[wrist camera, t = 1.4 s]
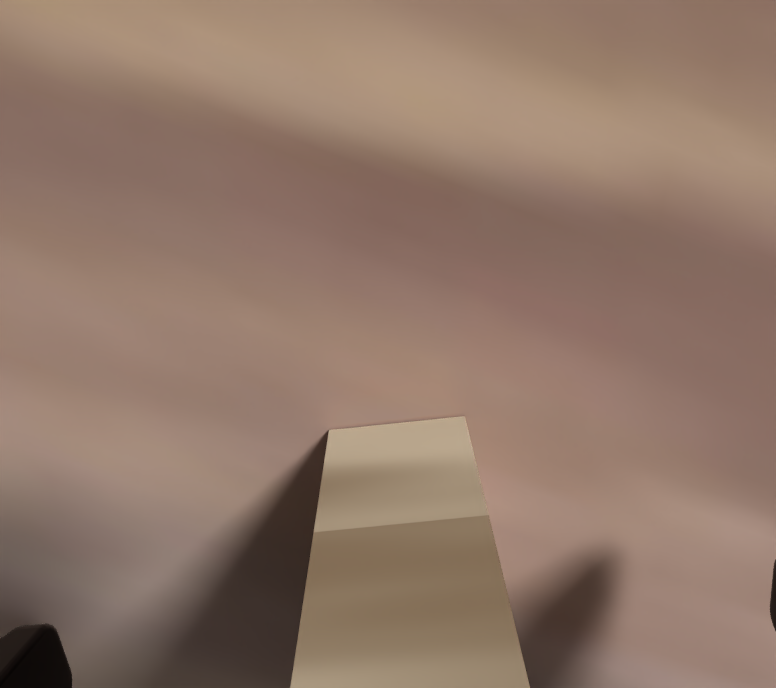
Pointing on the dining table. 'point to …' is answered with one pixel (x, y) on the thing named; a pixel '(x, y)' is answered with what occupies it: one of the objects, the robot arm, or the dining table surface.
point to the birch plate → (405, 567)
